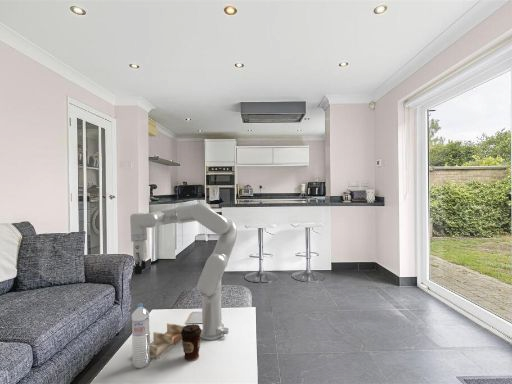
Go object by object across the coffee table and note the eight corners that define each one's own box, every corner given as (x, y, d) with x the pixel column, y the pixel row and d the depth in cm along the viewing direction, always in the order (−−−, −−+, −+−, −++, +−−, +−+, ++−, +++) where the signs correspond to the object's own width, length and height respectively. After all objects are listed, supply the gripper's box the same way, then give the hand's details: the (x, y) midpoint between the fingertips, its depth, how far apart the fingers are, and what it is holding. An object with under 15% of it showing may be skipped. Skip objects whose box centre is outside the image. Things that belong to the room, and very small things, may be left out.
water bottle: (154, 361, 122) (152, 301, 122) (142, 370, 115) (141, 308, 115) (140, 358, 124) (139, 300, 124) (129, 367, 117) (127, 306, 118)
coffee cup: (191, 365, 118) (190, 333, 118) (177, 360, 122) (176, 329, 122) (205, 355, 125) (205, 325, 125) (191, 350, 129) (191, 321, 129)
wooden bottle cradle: (186, 336, 142) (185, 326, 142) (157, 359, 123) (157, 347, 123) (168, 333, 146) (167, 323, 146) (138, 354, 127) (137, 342, 127)
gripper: (143, 239, 138) (145, 275, 137) (149, 234, 154) (151, 266, 154) (127, 240, 136) (128, 277, 136) (135, 235, 153) (136, 268, 153)
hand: (140, 271), depth 145 cm, fingers open, 9 cm apart
